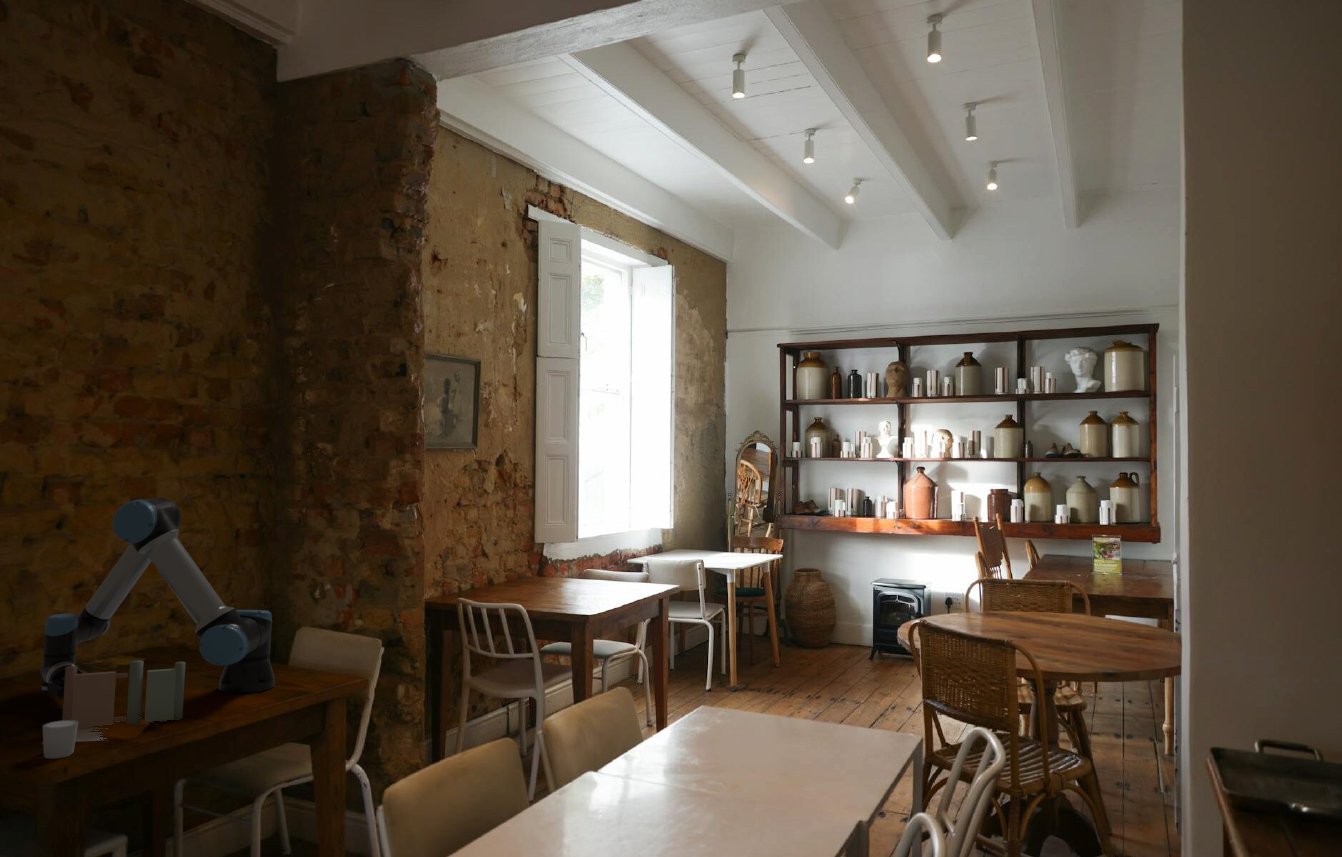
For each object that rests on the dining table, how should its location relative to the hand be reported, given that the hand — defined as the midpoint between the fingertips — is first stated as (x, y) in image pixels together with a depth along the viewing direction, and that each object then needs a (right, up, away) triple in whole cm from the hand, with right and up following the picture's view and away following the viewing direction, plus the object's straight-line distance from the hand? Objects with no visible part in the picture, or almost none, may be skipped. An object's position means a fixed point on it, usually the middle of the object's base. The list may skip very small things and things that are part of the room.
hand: (82, 698), depth 223 cm
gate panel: (+4, -6, -2) cm, 8 cm away
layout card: (+7, -7, -3) cm, 10 cm away
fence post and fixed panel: (+16, -8, +5) cm, 18 cm away
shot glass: (+8, -7, -21) cm, 23 cm away
